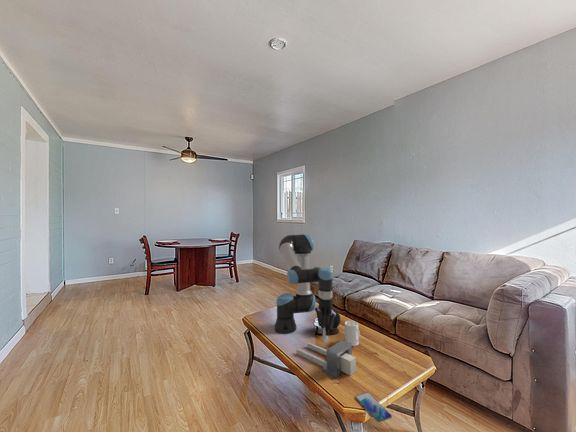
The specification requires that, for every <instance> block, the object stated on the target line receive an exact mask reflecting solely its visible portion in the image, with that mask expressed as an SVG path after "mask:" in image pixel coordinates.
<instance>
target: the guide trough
mask: <svg viewBox="0 0 576 432" xmlns="http://www.w3.org/2000/svg"><path fill="white" fill-rule="evenodd" d="M306 344H307V346H306V347H307V348H308V349H310V350H312V351H315V352H316V353H320V354H322V355H324V356H325V357H326V356H327V349H325V348H324V347H321V346H318V345H316V344H314V343H312V342H307V343H306ZM296 354H297V355H298V356H300V357H303V358H305V359H307V360H309V361H311V362H313V363H315V364H317V365H319V366H321V367H322V368H323V367H324V366H327V361H326V359H325V360H324V359H322V358H320V357H319V356H315V355H314V354H312V353H310V352H307V351H306V350H303V349H301V348H297V349H296Z"/></svg>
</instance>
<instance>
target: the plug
mask: <svg viewBox="0 0 576 432" xmlns="http://www.w3.org/2000/svg"><path fill="white" fill-rule="evenodd" d="M325 361H327V356H326V355H325ZM340 372H343V373H345V374H347V375H349V376H352V375H353V374H355V373H356V372H357V357H356V356H354V355H353V354H352V355H349V354H347V353H345V354H344V355H342V356H341V357H340Z"/></svg>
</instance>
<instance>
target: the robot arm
mask: <svg viewBox="0 0 576 432" xmlns="http://www.w3.org/2000/svg"><path fill="white" fill-rule="evenodd" d="M314 245H315V244H314V241H313V237H312V236H311V235H310V234H306V233H305V234H288V235H286V236H284V237H283V238H282V239H281V240H280V242H279V245H278V249H279V252H280V254H281V255H282V256H283V259H284V262H285V264H286V268H287V270H288V271H287V273H286V279H287V282H288V283H289V284H290V285H291V284H293V285H297V290H296V292H295V295H294V294H293V293H290V292H289V293H288V292H287V293H282V294H279V295H278V296H277V298H276V320H275V324H274V332H276V333H278V334H284V335H285V334H286V335H287V334H293V333H294V332H296V331H297V324H296V321H295V317H294V315H295V314H302V313H303V314H304V313H311V312H313V311H314V310H315V313H316V316H317V317H316V318H317V324H318V327H321V334H322V341H323V342H327V341H329V336H330V335H329V330H330V329H332V328H333V323H334V319H335V316H336V314H337V313H336V312H335V313H334V311H333V309H334V308H333V297H334V296H333V277H334V276H333V270H332V269H331V268H329V267H320V266H314V267H313V268H310V256H311V254H312V252H313V251H314V249H315V246H314ZM311 283H317V287H318V293H317V294H318V306H317V307H316V296H315V294H313V291H312V290H311V285H310V284H311ZM330 313H331V317H330Z"/></svg>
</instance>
